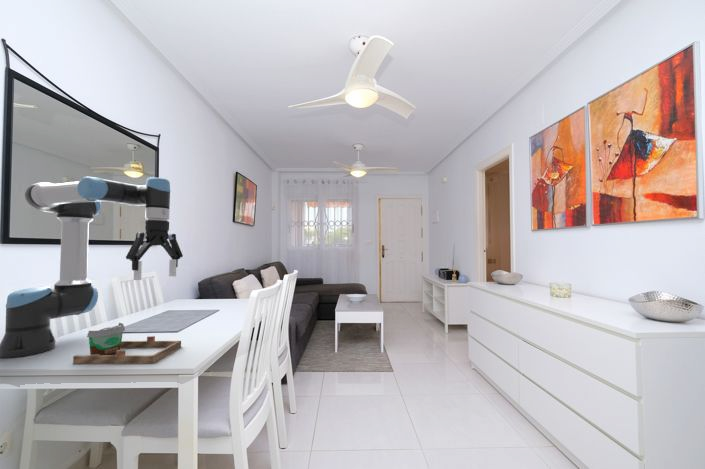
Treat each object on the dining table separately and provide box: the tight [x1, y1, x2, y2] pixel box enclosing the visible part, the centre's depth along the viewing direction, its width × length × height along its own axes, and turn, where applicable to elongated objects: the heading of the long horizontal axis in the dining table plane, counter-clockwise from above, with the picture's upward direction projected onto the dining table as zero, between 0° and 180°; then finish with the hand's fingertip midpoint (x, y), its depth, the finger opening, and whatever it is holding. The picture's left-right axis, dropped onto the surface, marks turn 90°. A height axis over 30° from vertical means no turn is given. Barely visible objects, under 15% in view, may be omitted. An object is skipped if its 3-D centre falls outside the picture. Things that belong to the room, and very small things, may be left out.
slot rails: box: [72, 335, 182, 365], centre depth 112 cm, size 27×17×4 cm, turn 91°
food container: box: [86, 322, 126, 355], centre depth 112 cm, size 12×6×10 cm, turn 168°
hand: (156, 278), depth 112 cm, fingers open, 13 cm apart
